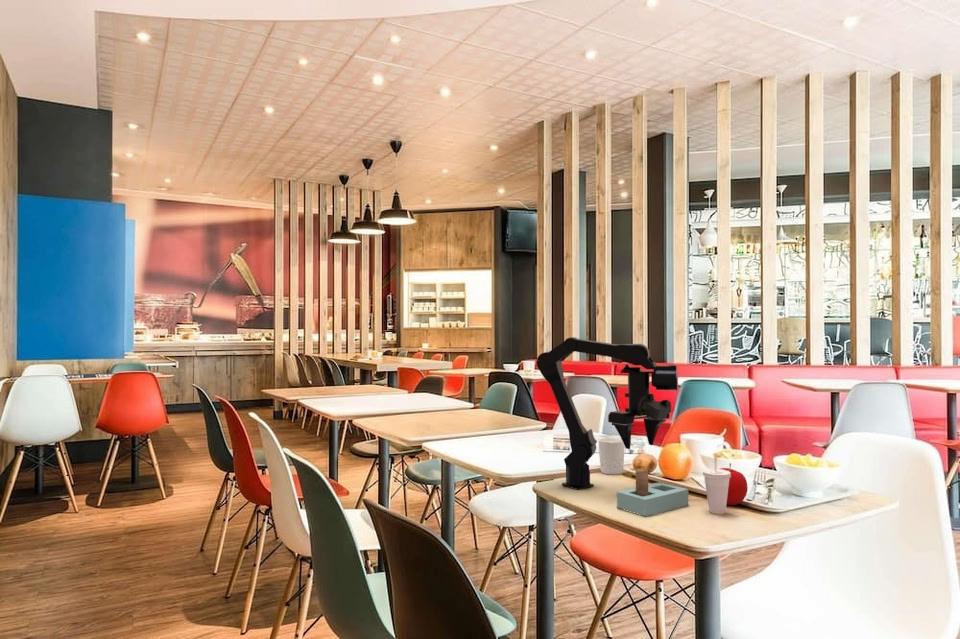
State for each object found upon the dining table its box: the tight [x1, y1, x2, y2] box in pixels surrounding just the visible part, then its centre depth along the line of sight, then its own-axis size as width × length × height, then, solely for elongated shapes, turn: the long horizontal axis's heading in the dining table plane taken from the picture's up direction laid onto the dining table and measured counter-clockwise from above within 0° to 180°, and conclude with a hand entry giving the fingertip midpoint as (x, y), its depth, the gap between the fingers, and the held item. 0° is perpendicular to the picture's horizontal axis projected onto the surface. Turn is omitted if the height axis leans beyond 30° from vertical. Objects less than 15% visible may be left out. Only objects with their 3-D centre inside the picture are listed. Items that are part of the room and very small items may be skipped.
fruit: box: [719, 462, 748, 506], centre depth 158 cm, size 9×9×10 cm
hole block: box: [616, 482, 690, 517], centre depth 155 cm, size 9×16×4 cm, turn 124°
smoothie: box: [702, 453, 731, 515], centre depth 151 cm, size 6×6×14 cm
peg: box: [635, 468, 649, 496], centre depth 153 cm, size 3×3×10 cm
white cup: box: [598, 437, 625, 476], centre depth 193 cm, size 8×8×10 cm
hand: (639, 446), depth 170 cm, fingers open, 9 cm apart
